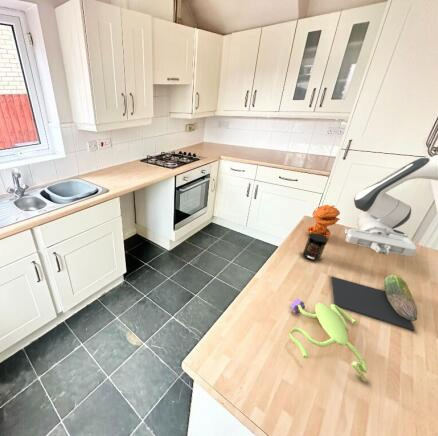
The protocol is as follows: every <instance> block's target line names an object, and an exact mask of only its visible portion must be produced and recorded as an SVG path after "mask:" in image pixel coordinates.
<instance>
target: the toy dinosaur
mask: <svg viewBox="0 0 438 436" xmlns="http://www.w3.org/2000/svg"><path fill="white" fill-rule="evenodd" d="M340 214H341V212H340V210H339V209H338V208H337V207H336V205H335V204H332V205H330V204H324V205H321V206H318V207H316V208H315V209H314V210H313V211H312V215H311V216H312V219H314V222H315V223H314V225H311V226H308V227H307V231H306V233H309V234H311V233H317V234H321V235H323V236H325V237H327V239H328V240H329V239H330V236H331V231H330V229H329V228H328V227H330V226H333V225H336V224H337V223H338V221H340V220H341V218H339V216H340Z"/></svg>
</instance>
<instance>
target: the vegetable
mask: <svg viewBox="0 0 438 436" xmlns="http://www.w3.org/2000/svg"><path fill="white" fill-rule="evenodd" d="M383 286H384V291H385V293H386V296H387V298H388V300H389V302H390V303H391V305H392V307H393V308H394V309H395V311H396V312H397V313H398V314H399V315H400V316H402V317H404V318H406V319H408V320H410V321H411V322H416V321H418V308H417V305H416V303H415V299H414V297H413V295H412V292H411V290H410V289H409V286H408V284H407V282H406V281H405V280H404V279H403V277H401V276H400V275H396V274H389V275H387V276H386V277H385V278H384V281H383Z"/></svg>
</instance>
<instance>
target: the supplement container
mask: <svg viewBox="0 0 438 436" xmlns="http://www.w3.org/2000/svg"><path fill="white" fill-rule="evenodd" d="M328 241H329V239H327V237H325V236H323V235H321V234H317V233H309V235H308V237H307V241H306V243H305V246H304V249H303V252H302V256H303V258H304V259H306V260H307V261H310V262H318V261H320V260H321V258H322V256H323V254H324V250H325V248H326V246H327V244H328Z"/></svg>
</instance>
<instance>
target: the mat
mask: <svg viewBox="0 0 438 436" xmlns="http://www.w3.org/2000/svg"><path fill="white" fill-rule="evenodd" d="M331 283H332V293H333V304H335V305H337V306H338V307H339V308H341V309H343V310H347V311H349V312H353V313H357V314H359V315H363V316H365V317H368V318H371V319H375V320H378V321H381V322H384V323H387V324H390V325H394V326H397V327H399V328H403V329H406V330H409V331H412V332H415V327H414V325H413V322H412V321H410V320H408V319H406V318H404V317H402V316H400V315H399V314H398V313H397V312H396V311H395V309H394V308H393V307H392V305H391V303H390V302H389V300H388V298H387V296H386V293H385V290H382V289H378V288H375V287H371V286H367V285H364V284H360V283H357V282H353V281H351V280H350V281H349V280H346V279H342V278H339V277H335V276H331Z"/></svg>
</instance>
